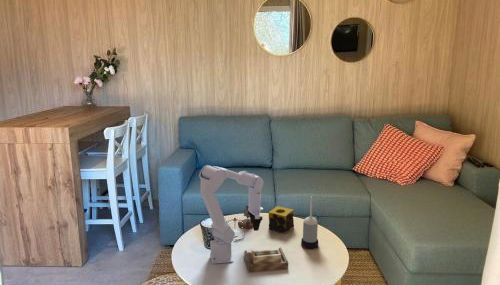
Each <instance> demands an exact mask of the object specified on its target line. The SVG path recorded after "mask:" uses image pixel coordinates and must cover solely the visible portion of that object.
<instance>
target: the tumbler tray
mask: <svg viewBox="0 0 500 285" xmlns="http://www.w3.org/2000/svg"><path fill="white" fill-rule="evenodd" d="M251 253H252V262H253V264H264V263H275V262H281V253H280V251H279V248H276V249H265V250H264V249H263V250H254V251H253V250H251Z"/></svg>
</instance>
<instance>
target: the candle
mask: <svg viewBox="0 0 500 285" xmlns="http://www.w3.org/2000/svg"><path fill="white" fill-rule="evenodd" d="M294 211H295V209H292V208H288V207H284V206H278V205H277V206H275V207H274V208H273V209H271V210H270V211H269V212H268V230H270V231H273V232H276V233H280V234H283V235H284V234H287V233H288V232H290V231H291V229H292V228H294V227H295V225H294V223H295V222H294V221H295V220H294V213H295V212H294Z"/></svg>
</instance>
